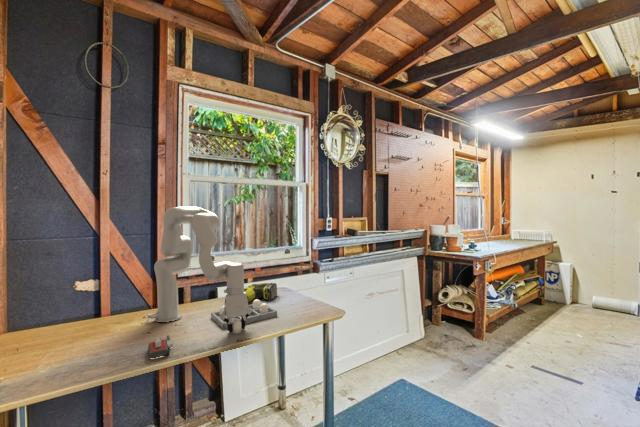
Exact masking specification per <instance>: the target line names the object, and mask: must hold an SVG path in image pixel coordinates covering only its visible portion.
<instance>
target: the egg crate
mask: <svg viewBox="0 0 640 427" xmlns="http://www.w3.org/2000/svg"><path fill="white" fill-rule="evenodd" d="M248 307H249V308H250V309H251V310H252V312H251V313H250V315H249V316H248V317H247V319H246V321H245V325H246V324H250V323H255V322H258V321H263V320H266V319H270V318H275V317H278V311H277V310H276V309H275V308H272V307H270V306H269V305H268V304H267V303H265V302H264V303H263V302H261V300H260V299H259V298H256V299H253V300H252V304H248ZM223 311H224V305H222V306H221V307H220V308H219V310H218V311H215V312H211V313H210V318H211V319H212V320H213V322H215V323H216V324H217V325H218V326H220V327H221V328H222V330H225V329H228V327H227V322H225V321H224V320H222V319H221V318H220V316H221V314H222V313H223ZM224 317H225V318H226V319H227V316H224ZM234 319H240V320H241V319H242V318H241V316H239V317H234V318H232V321H233V320H234ZM232 321H231V324H232Z"/></svg>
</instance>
